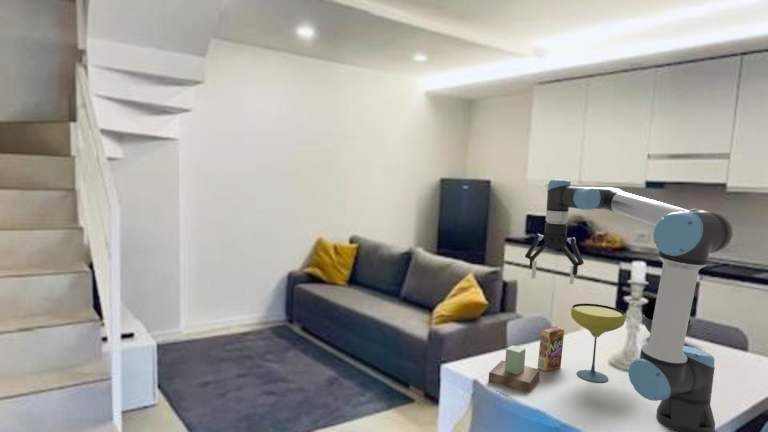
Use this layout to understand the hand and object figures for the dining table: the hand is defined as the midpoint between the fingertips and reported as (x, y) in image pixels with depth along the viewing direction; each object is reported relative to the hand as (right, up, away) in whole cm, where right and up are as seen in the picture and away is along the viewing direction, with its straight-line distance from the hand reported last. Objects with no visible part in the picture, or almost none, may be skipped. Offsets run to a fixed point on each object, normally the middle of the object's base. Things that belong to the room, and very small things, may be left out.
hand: (552, 280), depth 182 cm
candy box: (+2, -34, +8) cm, 35 cm away
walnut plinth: (-15, -35, -5) cm, 39 cm away
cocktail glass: (+15, -36, +2) cm, 39 cm away
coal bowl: (+68, -34, +47) cm, 89 cm away
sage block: (-15, -31, -5) cm, 35 cm away
